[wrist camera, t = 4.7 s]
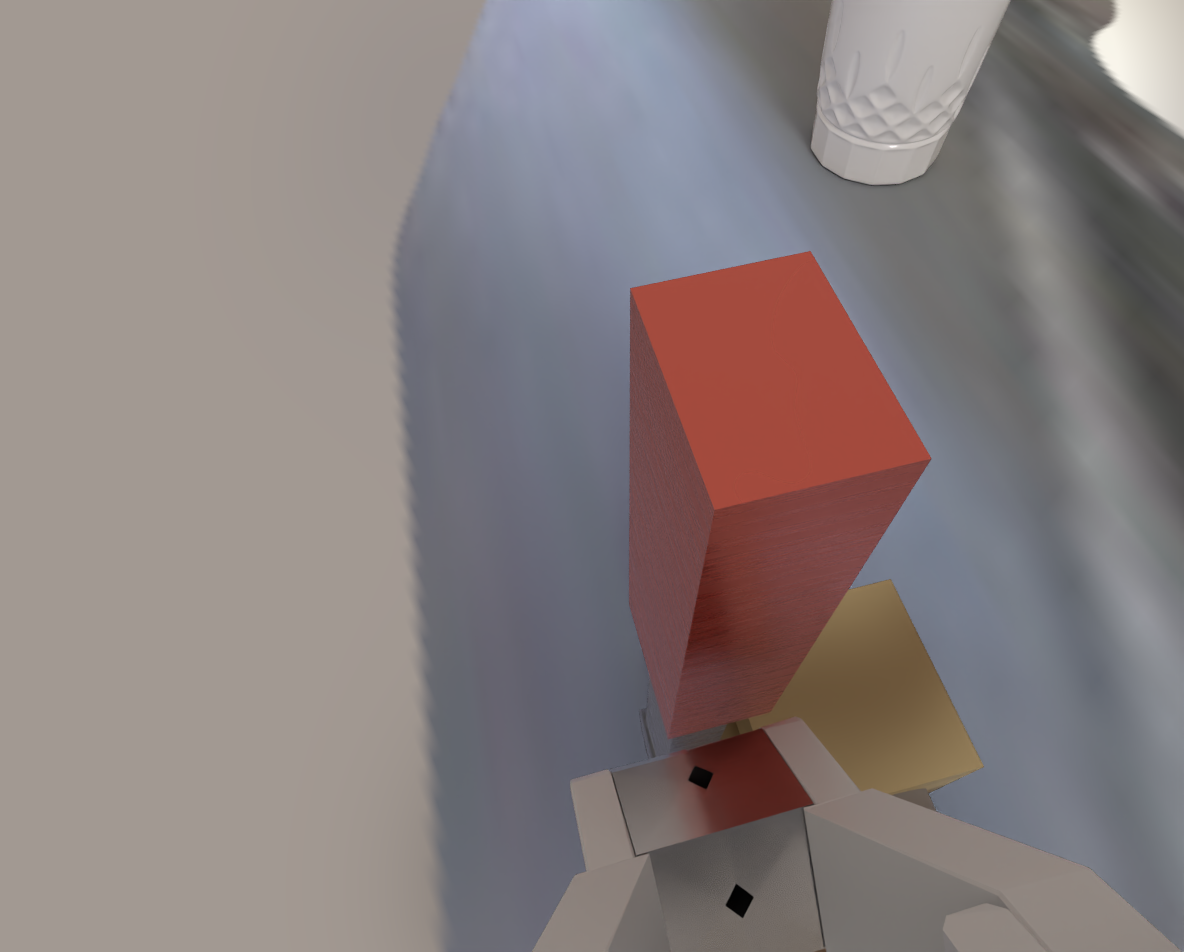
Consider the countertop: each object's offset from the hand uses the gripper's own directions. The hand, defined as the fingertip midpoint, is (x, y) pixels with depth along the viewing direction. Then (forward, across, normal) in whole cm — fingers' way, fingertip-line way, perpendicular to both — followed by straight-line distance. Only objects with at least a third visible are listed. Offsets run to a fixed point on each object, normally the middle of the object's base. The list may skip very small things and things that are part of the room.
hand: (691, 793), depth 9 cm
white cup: (+33, +22, +10) cm, 41 cm away
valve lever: (+9, +1, -6) cm, 10 cm away
